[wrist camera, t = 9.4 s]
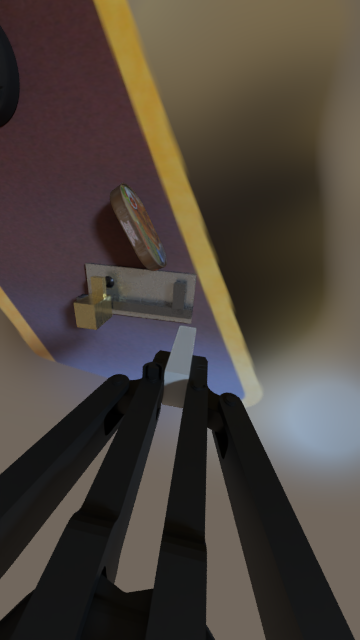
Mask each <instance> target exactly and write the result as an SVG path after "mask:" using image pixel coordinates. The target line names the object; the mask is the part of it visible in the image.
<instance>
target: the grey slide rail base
mask: <svg viewBox="0 0 360 640" xmlns="http://www.w3.org/2000/svg"><path fill="white" fill-rule="evenodd" d="M185 293H186V283H181V282H174V286H173V302H172V304H163V303H155V302H146V301H138V300H129V299H121V298H112V297H111V305H112V310H120V311H128V312H136V313H144V314H152V315H160V316H168V317H176V318H184V319H191V317H192V310H193V307H188V306H184V304H185ZM85 296H87V294H82V295H80V296H78V297H77V301H78V300H80V299H82V298H84V297H85Z"/></svg>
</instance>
